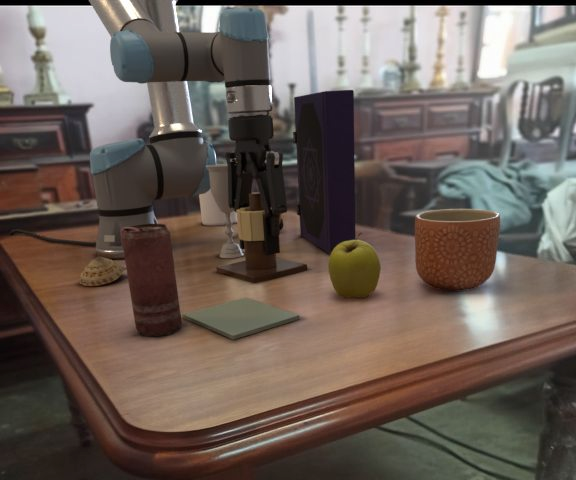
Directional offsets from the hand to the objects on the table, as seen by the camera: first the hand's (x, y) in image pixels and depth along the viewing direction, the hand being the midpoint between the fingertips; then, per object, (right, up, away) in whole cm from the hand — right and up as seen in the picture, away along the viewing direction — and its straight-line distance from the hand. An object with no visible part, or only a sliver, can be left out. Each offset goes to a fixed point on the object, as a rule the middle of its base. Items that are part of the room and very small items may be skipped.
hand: (259, 250), depth 107 cm
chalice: (-7, +1, +15) cm, 17 cm away
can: (-13, -15, -26) cm, 33 cm away
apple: (+15, -10, -16) cm, 25 cm away
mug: (-12, +17, +56) cm, 60 cm away
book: (+13, +5, +22) cm, 26 cm away
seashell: (-29, -5, +2) cm, 29 cm away
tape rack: (0, -4, +1) cm, 4 cm away
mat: (-2, -14, -24) cm, 28 cm away
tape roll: (0, +2, -1) cm, 2 cm away
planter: (+31, -8, -14) cm, 35 cm away
